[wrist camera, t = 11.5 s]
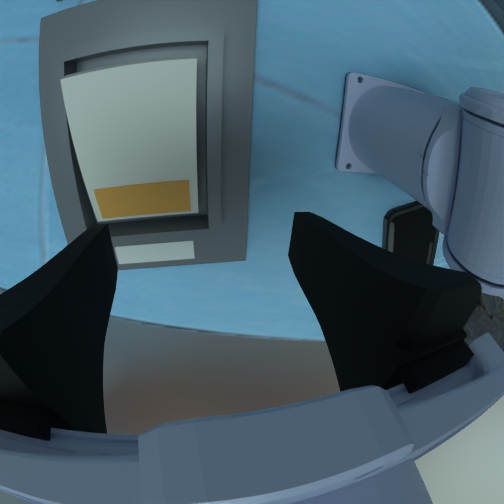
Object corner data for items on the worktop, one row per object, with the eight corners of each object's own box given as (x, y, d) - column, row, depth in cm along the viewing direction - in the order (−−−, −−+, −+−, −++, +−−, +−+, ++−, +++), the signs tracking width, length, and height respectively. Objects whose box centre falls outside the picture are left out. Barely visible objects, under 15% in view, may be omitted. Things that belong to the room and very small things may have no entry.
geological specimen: (447, 313, 40) (493, 377, 28) (423, 322, 39) (471, 394, 27) (472, 263, 34) (532, 330, 21) (448, 269, 33) (513, 347, 21)
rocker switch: (197, 55, 11) (196, 59, 11) (197, 204, 19) (198, 213, 19) (65, 75, 10) (59, 80, 10) (99, 213, 18) (97, 222, 17)
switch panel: (253, -5, 13) (265, -20, 10) (242, 249, 24) (250, 276, 21) (50, 20, 10) (26, 14, 7) (82, 262, 22) (71, 289, 19)
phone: (378, 317, 33) (387, 215, 24) (374, 311, 34) (381, 209, 25) (426, 295, 33) (445, 196, 24) (421, 290, 34) (438, 191, 25)
